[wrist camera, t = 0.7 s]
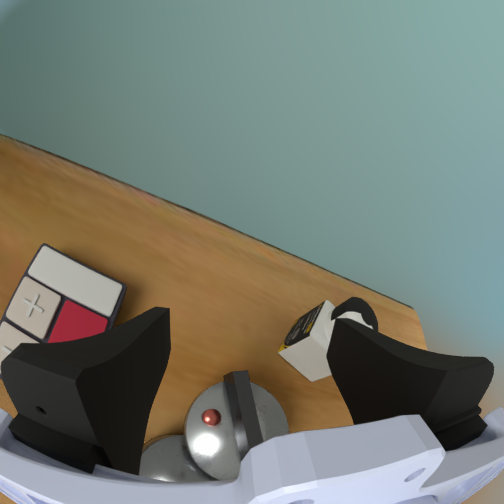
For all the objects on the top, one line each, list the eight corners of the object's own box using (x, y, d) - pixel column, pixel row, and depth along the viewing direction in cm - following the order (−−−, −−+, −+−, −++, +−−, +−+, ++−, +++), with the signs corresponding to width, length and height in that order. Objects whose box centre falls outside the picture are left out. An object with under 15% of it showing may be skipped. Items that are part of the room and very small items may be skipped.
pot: (237, 516, 18) (254, 523, 16) (67, 495, 12) (64, 504, 10) (239, 441, 25) (256, 440, 23) (75, 407, 18) (73, 405, 16)
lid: (296, 478, 21) (314, 479, 19) (201, 507, 15) (213, 515, 14) (271, 372, 28) (286, 365, 27) (174, 379, 23) (183, 373, 21)
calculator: (-20, 364, 12) (42, 237, 22) (-6, 372, 15) (45, 258, 25) (82, 423, 16) (129, 281, 26) (84, 421, 19) (124, 297, 29)
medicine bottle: (295, 319, 40) (353, 279, 33) (326, 348, 40) (387, 316, 32) (275, 352, 35) (341, 316, 27) (311, 383, 35) (380, 355, 27)
